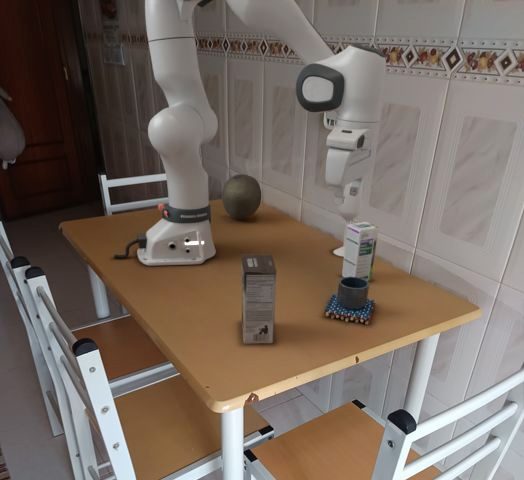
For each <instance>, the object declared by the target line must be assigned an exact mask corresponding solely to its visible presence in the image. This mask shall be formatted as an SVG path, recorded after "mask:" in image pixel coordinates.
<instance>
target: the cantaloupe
mask: <svg viewBox="0 0 524 480" xmlns="http://www.w3.org/2000/svg"><path fill="white" fill-rule="evenodd" d="M221 201H222V205H223V208H224V210H225V212H226V214H228V215H229V216H230V217H232V218H233V219H235V220H246V219H247V218H250V217H251V216H253V215H254V214H256V212H257V211H258V209H259V208H260V206H261V202H262V188H261V185H260V183H259V180H257V179H256V178H255V177H254V176H251V175H248V174H243V173H241V174H240V173H239V174H235V175H233V176H231V177H230V178H228V179H227V180H226V182H225V183H224V186H223V189H222V191H221Z"/></svg>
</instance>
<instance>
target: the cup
mask: <svg viewBox="0 0 524 480" xmlns="http://www.w3.org/2000/svg"><path fill="white" fill-rule="evenodd" d="M369 290H370V282H369V281H366V280H365V279H362V278H358V277H342V278H340V279H339V280H338V286H337V293H336V294H337V302H338V303H339V305H340V306H341V307H343V308H345V309H350V310H358V309H361V308H363V307H364V306H365V305H366V303H367V299H368V298H369V297H368V296H369Z"/></svg>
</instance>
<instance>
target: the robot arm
mask: <svg viewBox="0 0 524 480" xmlns="http://www.w3.org/2000/svg"><path fill="white" fill-rule="evenodd" d="M212 1H214V0H144V14H145V15H144V17H145V29H146V36H147V43H148V48H149V55H150V60H151V65H152V72H153V77H154V80H155V82H156V83H157V85H159V87H160V89H161V90H162V92H163V94H164V97H165V99H166V102H167V104H168V107H165V108H163V109H161V110H160V111H159V112H157V113H156V114H155V115H154V116H153V117H152V118H151V119H150V121H149V123H148V127H147V134H148V136H147V137H148V139H149V142H150V144H151V145H152V147H153V148H154V150H155V151H157V153H158V154H159V157H160V160H161V162H162V166H163V169H164V172H165V177H166V185H167V197H168V199H167V200H168V203H167V204H166V205H165V204H164V203H163V202H162V203H159V204H158V205H157V208H158V210H159V212H161V215H162V216H161V217H162V218H161V219H160V220H159V221H157V222H156V223H155V224H154V225H153V226H151V227H150V228H149V229H147V231H146V233H145V232H141V233H136V238H135V239H134V240H132V241H130V242H128V243H127V245H126V246H125V253H123V254H113V255H114V256H113V257H114V259H126V258H128V257H129V255H130V249H131V247H132V246H134V245H136V244H137V245H138V249H137V251H136V253H137V255H136V256H137V259H138V260H139V262H140V263H142V264H143V265H146V266H149V267H150V266H154V267H155V266H181V265H182V266H183V265H185V266H187V265H201V264H203V263H204V262H205V261H206V260H208V259H211V258H212V257H214V256H215V255H216V254H217V251H216V247H215V245H214V240H213V234H212V229H211V223H212V207H211V204H210V196H209V175H208V173H207V172H206V170H205V169H204V166H203V164H202V160H201V155H200V148H202V147H205V146H207V145H209V143H210V142H211V141H212V140H213V138H215V136H216V134H217V132H218V128H219V124H218V123H219V121H218V117H217V115H216V113H215V112H214V110H213V109H212V107H211V106H210V103H209V99H208V97H207V93H206V90H205V88H204V84H203V81H202V76H201V73H200V66H199V59H198V51H197V44H196V38H195V30H194V25H193V24H194V23H193V13H194V9H195V8H196V6H198V7H200V8H204V7H206V6H207V5H208V4H210V3H211V2H212ZM224 1H225V2H226V4H227V5H228V7H229V8H230V9H231V11H232V12H233V13H234V15H235V16H236V17H237V18H238V19H239V20H240V21H241V22H242V23H243V24H244V25H245V26H246V27H247V28H248V29H250V30H252V31H254V32H257V33H260V34H264V35H267V36H269V37H272V38H275V39H277V40H279V41H281V42H282V43H283V44H285V45H287V46H288V47H289V48H290V49H291V50H292V51H293V53H295V55H296V56H297V57H298V59H299V60H300V61H301V63H302V64H303V65H304V67H303V68H302V69H301V70H300V72H299V74H298V75H297V78H296V83H295V95H296V98H297V102H298V104H299V105H300V106H301V107H302V108H303V109H304V110H305V111H307V112H309V113H313V114H323V113H324V114H325V113H331V112H335V113H336V119H335V121H336V122H335V124H334V127H333V129H332V130H331V132H330V133H329V134H328V135H327V137H326V147H329V148H328V149H327V154H326V162H325V178H324V179H325V184H326V185H327V186H328V187H332V188H333V194H334V200H333V201H334V202H333V203H334V205H336V206H339V205H342V204H343V203H344V199H345V196H344V190H345V185H347V184H349V183H351V182H352V181H353V182H352V186H351V187H350V193H349V194H350V195H351V196H356V195H358V194H359V188H360V185H361V183H362V180H363V181H364V176H365V175H367V174H369V173H370V172H371V171H372V167H373V161H374V153H375V146H376V142H377V135H378V129H379V125H380V124H379V122H380V112H379V111H380V106H381V103H382V101H383V98H384V91H385V84H386V77H387V76H386V74H387V59H386V56H385V55H386V54H384V52H383V51H382V50H380V49H378V48H376V47H373V46H370V45H367V44H362V43H351V44H349V45H348V46H346V48H345V49H343V50H342V51H340V52H339V53H336V52H335V51H334V50H333V49H332V47H331V46H330V45H329V43H328V42H327V41H326V40H325V39H324V37H323V36H322V35H321V33H320V32H319V31H318V29H317V28H316V27H315V26H314V25H313V23H312V22H311V21H310V20H309V19H308V17H306V15H305V14H304V12H303V11H302V10H301V8H300V7H299V5H298V4H297V3H296V1H295V0H224Z"/></svg>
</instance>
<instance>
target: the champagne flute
mask: <svg viewBox="0 0 524 480" xmlns="http://www.w3.org/2000/svg"><path fill="white" fill-rule="evenodd" d="M352 182H353V181H352ZM352 182H351V183H349V184H347V185H345V190H344V196H345V199H344V203H343V204H342V205H337V211H338V213H339V215H340V216H341V217H342V219H343V220H344V221H345V227H344V235H343V236H344V237H343V245H342V246H341V247H338V248H336V249H334V250H333V251H332V252H333V254H334V255H336V256H338V257H343V258H344V252H345V242H346V233H347V225H348V224H351V221H353V220H355V219H356V218H357V217H358V216H359V215H360V214H361V213H362V210H363V190H364V189H363V187H364V179H363V180H362V183H361V185H360V188H359V194H358V195H356V196H351V195H350V194H349V193H350V187H351V186H352Z"/></svg>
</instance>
